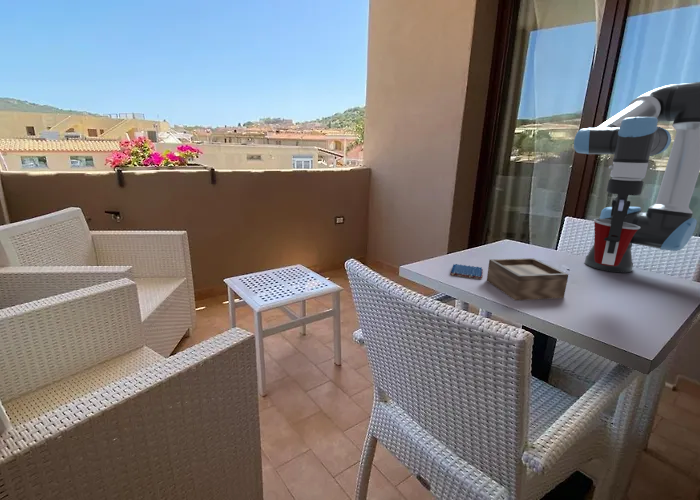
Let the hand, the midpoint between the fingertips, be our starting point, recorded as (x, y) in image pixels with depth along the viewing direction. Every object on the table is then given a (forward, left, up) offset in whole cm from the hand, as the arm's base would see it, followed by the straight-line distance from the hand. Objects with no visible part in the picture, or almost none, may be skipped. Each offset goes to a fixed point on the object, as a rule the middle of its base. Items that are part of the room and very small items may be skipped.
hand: (608, 259), depth 103 cm
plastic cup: (0, 0, -1) cm, 1 cm away
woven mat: (+27, -28, -14) cm, 41 cm away
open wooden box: (+16, -12, -13) cm, 24 cm away
